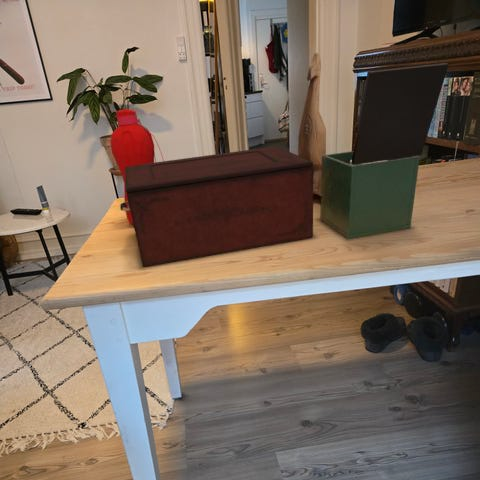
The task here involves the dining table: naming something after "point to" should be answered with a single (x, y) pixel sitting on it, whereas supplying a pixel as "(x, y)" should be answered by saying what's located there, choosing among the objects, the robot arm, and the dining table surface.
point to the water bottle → (131, 145)
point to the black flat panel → (397, 112)
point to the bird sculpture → (313, 126)
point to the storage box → (219, 203)
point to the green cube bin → (367, 194)
